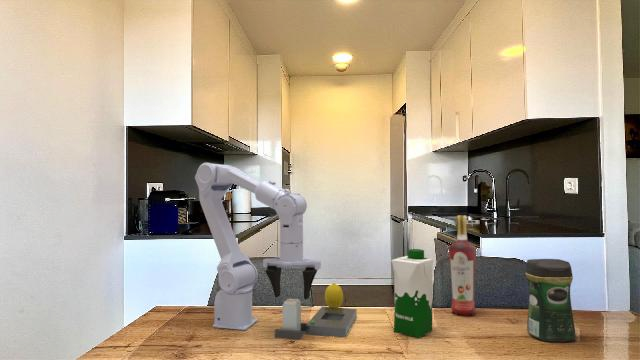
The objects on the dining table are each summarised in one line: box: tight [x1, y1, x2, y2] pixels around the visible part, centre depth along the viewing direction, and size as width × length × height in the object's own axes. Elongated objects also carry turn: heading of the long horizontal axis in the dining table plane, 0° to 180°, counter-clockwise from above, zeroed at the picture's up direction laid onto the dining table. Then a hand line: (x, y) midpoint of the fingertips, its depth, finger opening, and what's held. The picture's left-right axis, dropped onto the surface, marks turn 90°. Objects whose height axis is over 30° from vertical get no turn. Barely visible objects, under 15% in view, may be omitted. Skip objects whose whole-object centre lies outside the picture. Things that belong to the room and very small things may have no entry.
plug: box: [281, 298, 302, 331], centre depth 95 cm, size 4×4×8 cm
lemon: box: [324, 282, 344, 308], centre depth 114 cm, size 6×6×8 cm
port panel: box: [305, 306, 358, 338], centre depth 101 cm, size 10×16×3 cm, turn 165°
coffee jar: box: [525, 258, 576, 342], centre depth 92 cm, size 10×8×19 cm
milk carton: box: [390, 248, 434, 339], centre depth 97 cm, size 9×9×20 cm
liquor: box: [448, 215, 477, 317], centre depth 111 cm, size 7×7×28 cm
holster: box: [274, 322, 308, 341], centre depth 95 cm, size 6×7×2 cm
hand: (291, 297), depth 95 cm, fingers open, 7 cm apart
